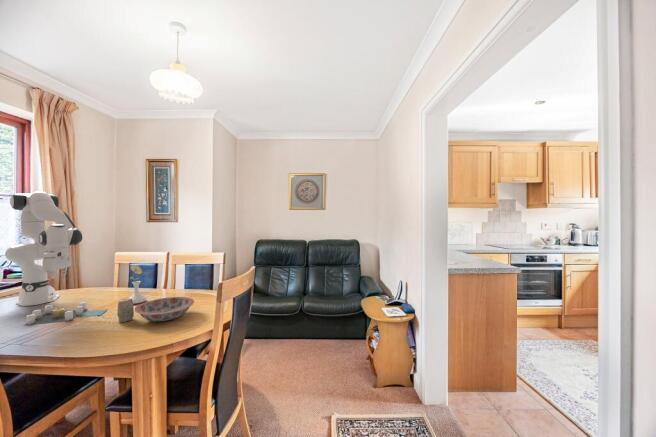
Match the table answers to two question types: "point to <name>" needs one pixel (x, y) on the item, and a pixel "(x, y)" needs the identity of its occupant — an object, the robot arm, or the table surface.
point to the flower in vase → (136, 286)
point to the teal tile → (93, 313)
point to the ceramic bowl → (164, 308)
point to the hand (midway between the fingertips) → (58, 277)
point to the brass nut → (58, 313)
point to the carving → (125, 310)
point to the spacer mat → (48, 316)
